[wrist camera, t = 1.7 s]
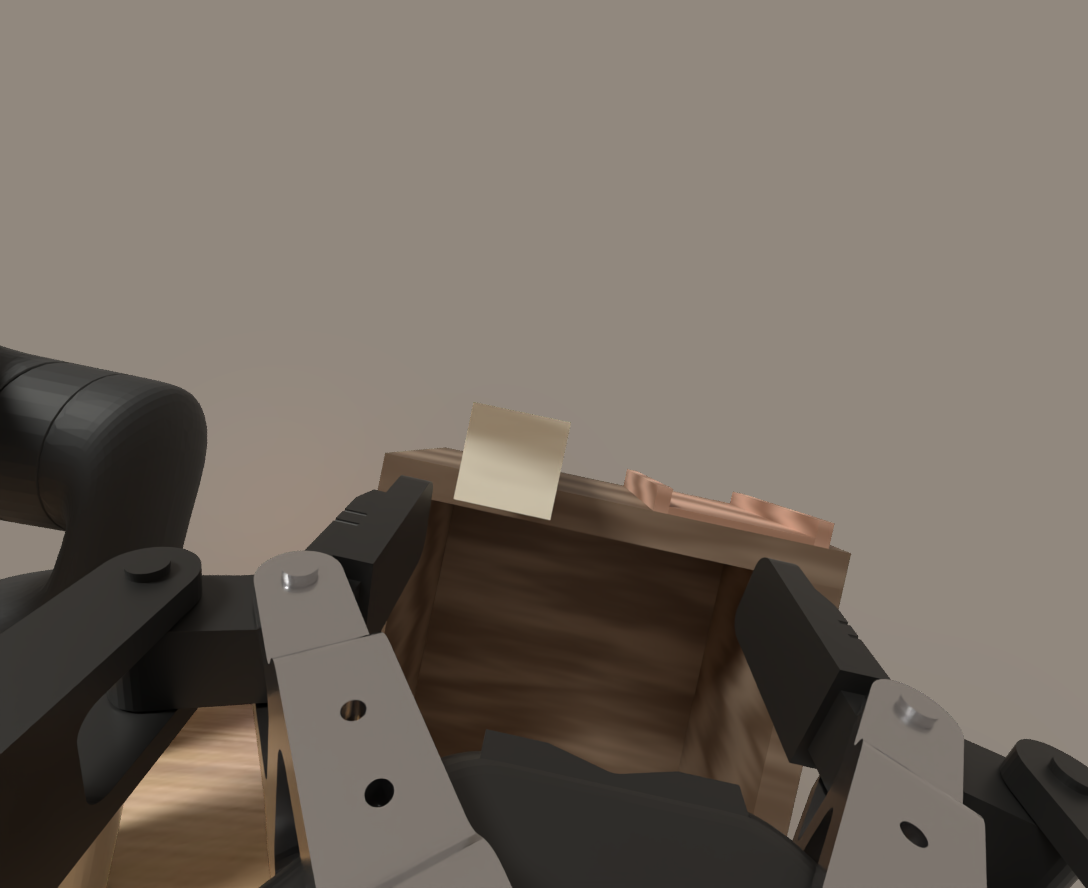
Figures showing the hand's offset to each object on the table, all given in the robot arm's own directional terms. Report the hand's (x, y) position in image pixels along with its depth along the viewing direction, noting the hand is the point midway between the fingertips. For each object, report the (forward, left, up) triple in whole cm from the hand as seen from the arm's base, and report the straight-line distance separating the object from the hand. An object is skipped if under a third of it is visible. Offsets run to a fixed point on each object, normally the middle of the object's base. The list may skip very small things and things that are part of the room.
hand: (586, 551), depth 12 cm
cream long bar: (-11, +14, 0) cm, 18 cm away
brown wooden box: (-9, +21, -32) cm, 39 cm away
